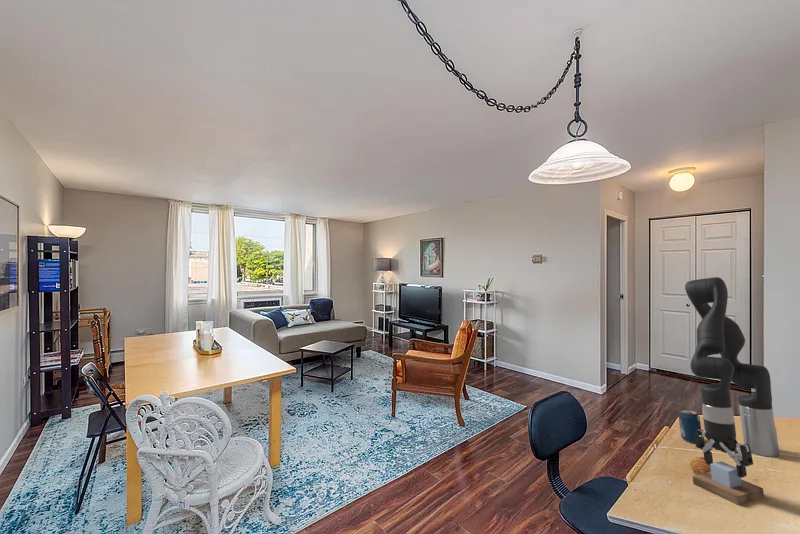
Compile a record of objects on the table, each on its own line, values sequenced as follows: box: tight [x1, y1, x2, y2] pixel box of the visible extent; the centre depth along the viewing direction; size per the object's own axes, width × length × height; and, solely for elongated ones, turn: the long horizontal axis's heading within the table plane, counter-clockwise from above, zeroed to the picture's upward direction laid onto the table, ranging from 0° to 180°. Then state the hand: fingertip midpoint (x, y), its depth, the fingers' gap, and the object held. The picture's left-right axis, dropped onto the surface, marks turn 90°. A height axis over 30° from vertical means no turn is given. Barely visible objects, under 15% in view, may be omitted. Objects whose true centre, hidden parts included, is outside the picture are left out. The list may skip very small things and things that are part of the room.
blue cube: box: [710, 461, 742, 488], centre depth 108 cm, size 5×5×5 cm
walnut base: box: [692, 471, 765, 506], centre depth 108 cm, size 12×12×3 cm
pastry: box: [689, 456, 711, 475], centre depth 119 cm, size 9×7×4 cm
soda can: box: [678, 408, 702, 444], centre depth 143 cm, size 7×7×12 cm
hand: (724, 470), depth 108 cm, fingers open, 8 cm apart
